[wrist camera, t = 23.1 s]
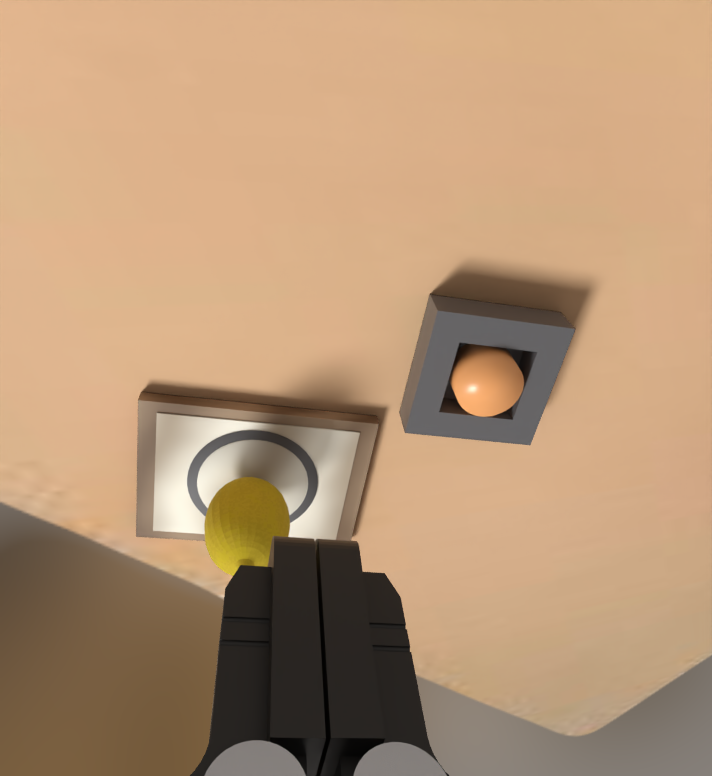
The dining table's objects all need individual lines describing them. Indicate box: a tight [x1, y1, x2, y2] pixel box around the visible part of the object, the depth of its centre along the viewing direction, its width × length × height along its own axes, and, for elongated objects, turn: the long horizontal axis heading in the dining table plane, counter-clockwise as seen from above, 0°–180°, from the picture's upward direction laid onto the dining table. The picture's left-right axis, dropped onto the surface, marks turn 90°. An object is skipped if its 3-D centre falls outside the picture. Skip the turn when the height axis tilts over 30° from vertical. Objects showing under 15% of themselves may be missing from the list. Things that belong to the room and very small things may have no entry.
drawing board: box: [136, 392, 379, 541], centre depth 46 cm, size 16×12×1 cm
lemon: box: [204, 477, 290, 576], centre depth 42 cm, size 6×6×8 cm
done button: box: [449, 344, 524, 417], centre depth 42 cm, size 4×4×2 cm
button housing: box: [399, 294, 575, 445], centre depth 42 cm, size 9×9×2 cm
